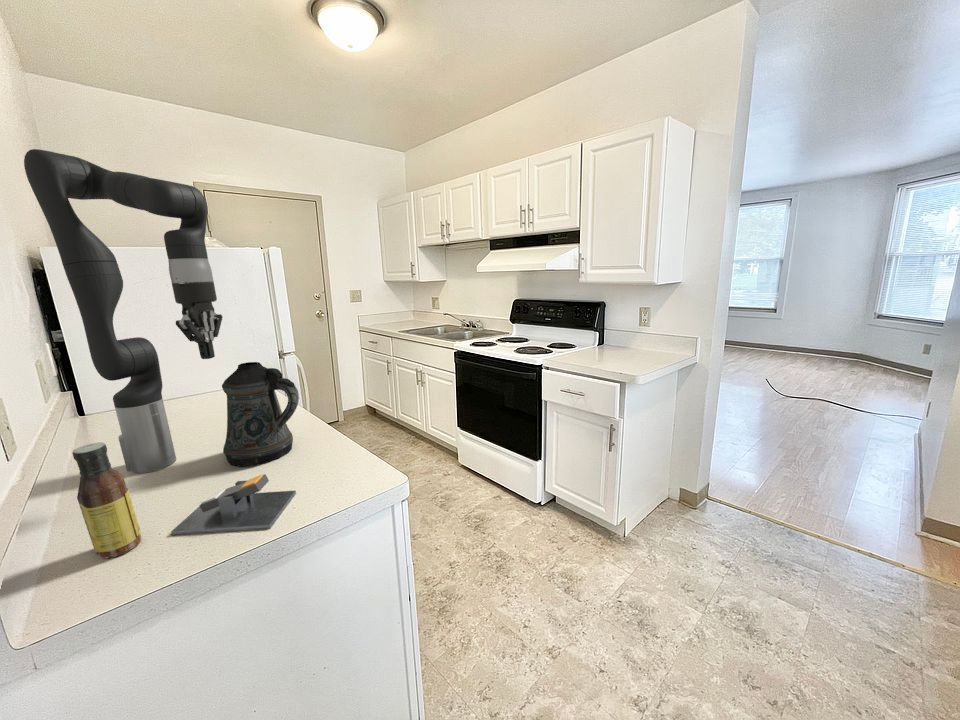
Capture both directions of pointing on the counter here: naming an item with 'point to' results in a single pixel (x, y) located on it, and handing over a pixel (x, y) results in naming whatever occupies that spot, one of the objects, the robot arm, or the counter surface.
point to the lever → (235, 492)
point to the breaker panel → (237, 513)
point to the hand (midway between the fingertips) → (208, 358)
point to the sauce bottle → (105, 503)
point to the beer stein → (257, 415)
